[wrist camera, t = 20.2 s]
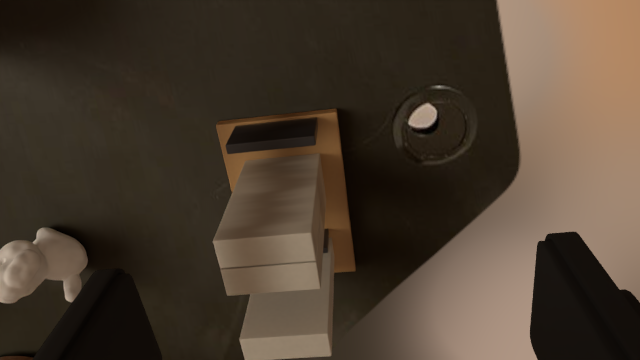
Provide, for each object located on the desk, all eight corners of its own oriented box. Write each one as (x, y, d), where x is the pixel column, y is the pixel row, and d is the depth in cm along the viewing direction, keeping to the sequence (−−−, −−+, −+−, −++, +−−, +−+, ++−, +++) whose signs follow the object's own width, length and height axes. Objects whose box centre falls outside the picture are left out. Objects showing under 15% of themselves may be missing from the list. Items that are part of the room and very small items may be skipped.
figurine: (35, 205, 47) (-20, 257, 40) (112, 248, 49) (72, 305, 42) (14, 243, 49) (-41, 298, 42) (89, 283, 51) (48, 342, 44)
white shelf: (336, 107, 41) (333, 182, 30) (355, 264, 49) (359, 373, 37) (218, 120, 42) (170, 197, 31) (254, 272, 50) (226, 380, 38)
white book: (331, 237, 46) (327, 333, 35) (334, 256, 47) (331, 356, 36) (263, 242, 47) (239, 339, 36) (267, 262, 48) (245, 361, 37)
